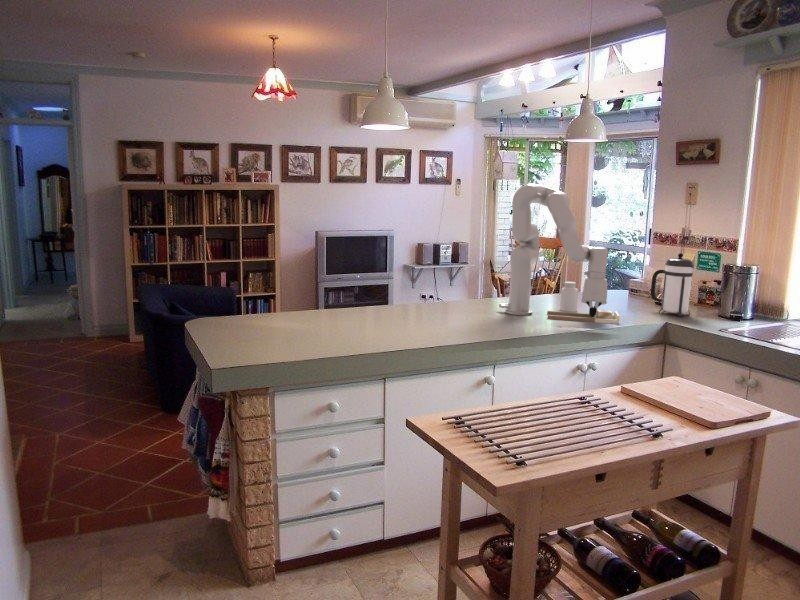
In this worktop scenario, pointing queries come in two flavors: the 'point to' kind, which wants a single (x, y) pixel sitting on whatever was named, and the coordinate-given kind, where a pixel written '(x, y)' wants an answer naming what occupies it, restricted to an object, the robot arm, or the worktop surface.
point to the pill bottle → (569, 297)
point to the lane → (581, 317)
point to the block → (604, 314)
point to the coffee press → (675, 285)
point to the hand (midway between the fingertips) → (592, 316)
